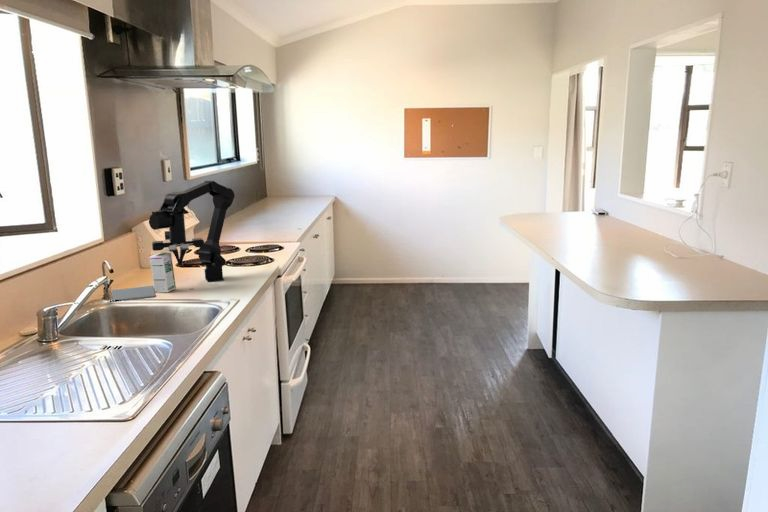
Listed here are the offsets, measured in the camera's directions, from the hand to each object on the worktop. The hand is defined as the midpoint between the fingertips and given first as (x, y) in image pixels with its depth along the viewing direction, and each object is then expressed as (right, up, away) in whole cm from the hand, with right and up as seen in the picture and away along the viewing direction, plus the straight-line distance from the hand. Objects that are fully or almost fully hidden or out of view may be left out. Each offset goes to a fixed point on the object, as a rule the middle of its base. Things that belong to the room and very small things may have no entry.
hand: (180, 265), depth 216 cm
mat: (-16, -11, -5) cm, 20 cm away
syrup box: (-6, -10, 0) cm, 11 cm away
